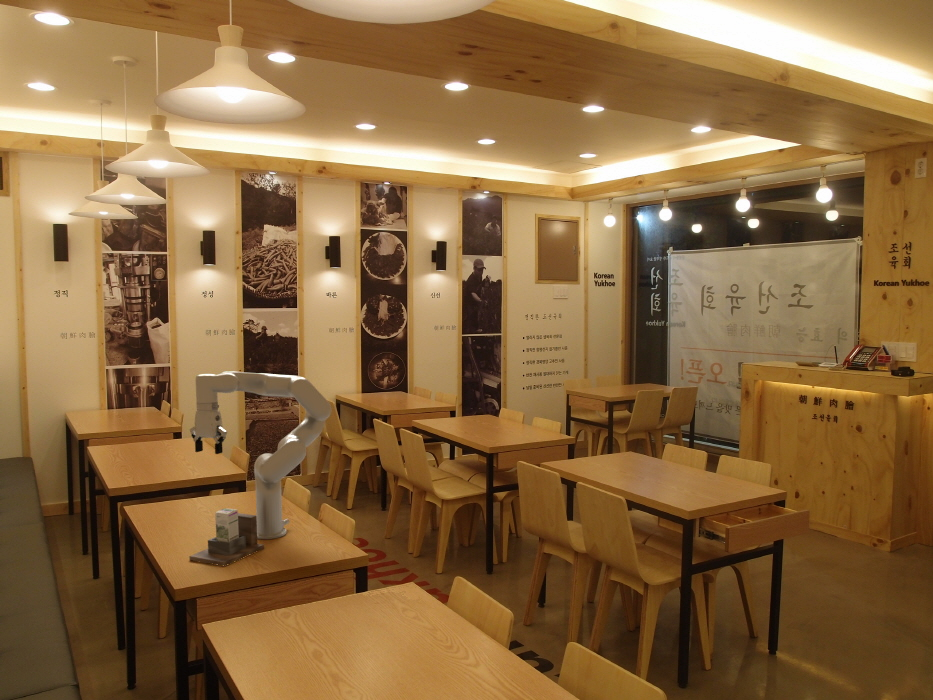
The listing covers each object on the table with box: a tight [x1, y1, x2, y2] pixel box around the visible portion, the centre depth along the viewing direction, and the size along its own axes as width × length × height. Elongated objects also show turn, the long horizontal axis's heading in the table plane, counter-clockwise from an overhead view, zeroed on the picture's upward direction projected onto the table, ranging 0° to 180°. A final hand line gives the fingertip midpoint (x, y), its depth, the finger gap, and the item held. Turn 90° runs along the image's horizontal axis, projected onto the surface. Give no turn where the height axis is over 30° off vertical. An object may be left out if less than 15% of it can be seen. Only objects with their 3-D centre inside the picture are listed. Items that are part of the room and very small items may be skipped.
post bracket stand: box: [188, 512, 265, 567], centre depth 262 cm, size 20×16×12 cm
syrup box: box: [214, 508, 239, 542], centre depth 262 cm, size 6×6×14 cm
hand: (208, 452), depth 274 cm, fingers open, 9 cm apart
